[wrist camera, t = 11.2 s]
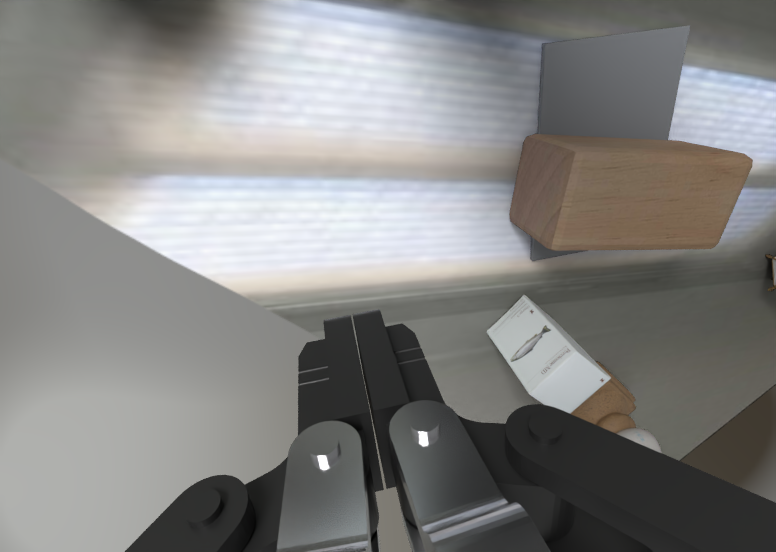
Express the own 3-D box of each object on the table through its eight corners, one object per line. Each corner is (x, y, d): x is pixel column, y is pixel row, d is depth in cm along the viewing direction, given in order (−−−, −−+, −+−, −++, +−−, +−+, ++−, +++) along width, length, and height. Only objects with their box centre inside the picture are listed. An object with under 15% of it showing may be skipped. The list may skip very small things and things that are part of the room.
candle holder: (541, 405, 66) (654, 564, 45) (596, 359, 64) (743, 504, 43) (576, 433, 70) (694, 589, 50) (629, 392, 68) (775, 537, 47)
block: (575, 148, 36) (762, 156, 40) (521, 132, 45) (679, 139, 49) (548, 254, 41) (719, 252, 44) (504, 221, 49) (650, 221, 53)
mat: (542, 43, 42) (545, 43, 41) (685, 25, 44) (690, 25, 43) (530, 258, 53) (532, 260, 53) (644, 237, 55) (648, 239, 54)
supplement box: (523, 292, 55) (579, 349, 44) (554, 319, 58) (614, 379, 47) (483, 330, 57) (528, 395, 46) (516, 355, 60) (565, 421, 49)
